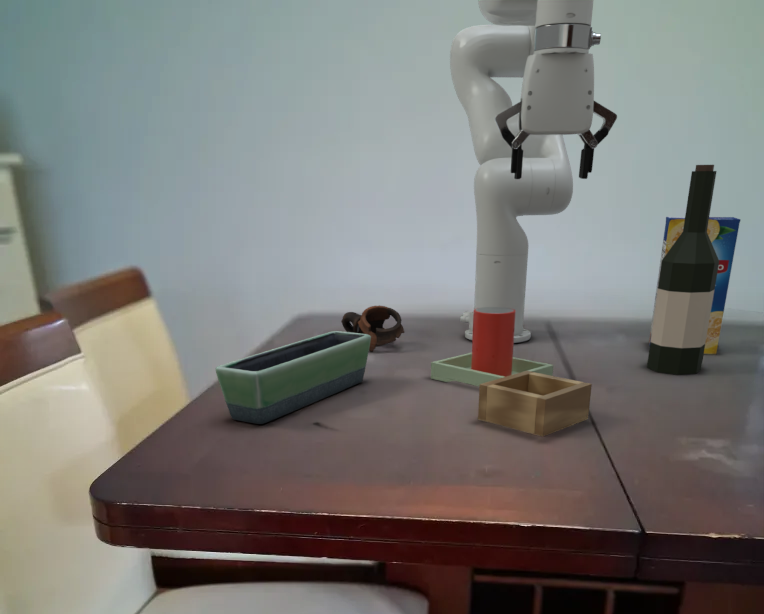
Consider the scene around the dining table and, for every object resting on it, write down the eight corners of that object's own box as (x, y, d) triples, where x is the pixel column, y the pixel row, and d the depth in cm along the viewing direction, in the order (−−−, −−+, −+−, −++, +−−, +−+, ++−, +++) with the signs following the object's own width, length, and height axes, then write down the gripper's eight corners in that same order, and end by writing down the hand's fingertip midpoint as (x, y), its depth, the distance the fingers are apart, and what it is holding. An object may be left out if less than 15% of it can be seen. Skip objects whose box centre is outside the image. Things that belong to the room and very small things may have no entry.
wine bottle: (705, 375, 116) (742, 164, 104) (649, 373, 118) (679, 164, 105) (696, 363, 123) (729, 164, 111) (643, 361, 125) (670, 165, 113)
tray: (430, 378, 116) (430, 362, 115) (478, 366, 123) (478, 350, 122) (505, 396, 106) (506, 378, 105) (552, 381, 114) (553, 364, 112)
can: (462, 376, 114) (465, 310, 110) (488, 369, 118) (491, 305, 114) (494, 383, 110) (498, 314, 106) (519, 376, 114) (524, 309, 110)
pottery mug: (405, 343, 143) (412, 309, 136) (391, 375, 137) (397, 340, 130) (346, 325, 143) (349, 290, 137) (330, 356, 138) (333, 321, 131)
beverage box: (648, 343, 138) (665, 216, 129) (711, 346, 136) (734, 217, 127) (650, 351, 132) (669, 218, 123) (716, 354, 130) (740, 219, 121)
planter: (261, 430, 93) (257, 373, 90) (217, 421, 96) (212, 366, 93) (373, 381, 115) (373, 334, 112) (334, 375, 118) (333, 329, 115)
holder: (477, 423, 95) (479, 384, 93) (524, 407, 101) (526, 370, 99) (542, 441, 88) (545, 399, 86) (587, 423, 94) (592, 383, 92)
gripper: (618, 46, 106) (603, 177, 113) (496, 48, 107) (489, 178, 114) (631, 39, 99) (615, 179, 107) (501, 40, 100) (493, 179, 107)
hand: (550, 178), depth 110 cm, fingers open, 9 cm apart
